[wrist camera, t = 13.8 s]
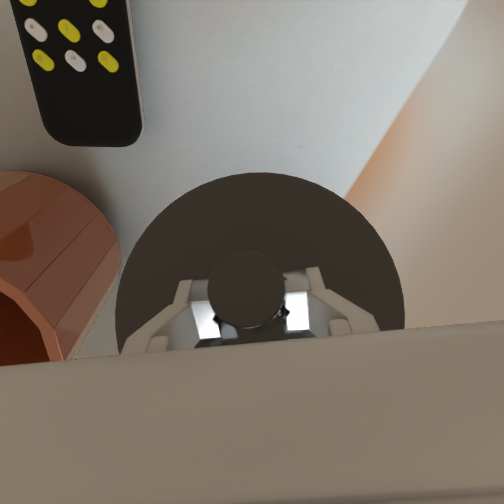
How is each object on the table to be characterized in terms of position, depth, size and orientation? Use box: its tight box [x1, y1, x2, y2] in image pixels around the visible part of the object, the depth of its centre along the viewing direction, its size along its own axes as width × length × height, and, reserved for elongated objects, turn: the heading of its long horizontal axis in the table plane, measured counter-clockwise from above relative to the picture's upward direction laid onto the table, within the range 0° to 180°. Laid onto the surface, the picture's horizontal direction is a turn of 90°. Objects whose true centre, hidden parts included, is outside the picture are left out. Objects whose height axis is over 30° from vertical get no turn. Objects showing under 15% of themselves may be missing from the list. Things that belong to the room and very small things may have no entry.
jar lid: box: [115, 173, 405, 354], centre depth 14 cm, size 14×14×6 cm
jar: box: [0, 171, 121, 366], centre depth 23 cm, size 13×13×10 cm
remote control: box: [10, 0, 145, 147], centre depth 20 cm, size 6×13×2 cm, turn 179°
